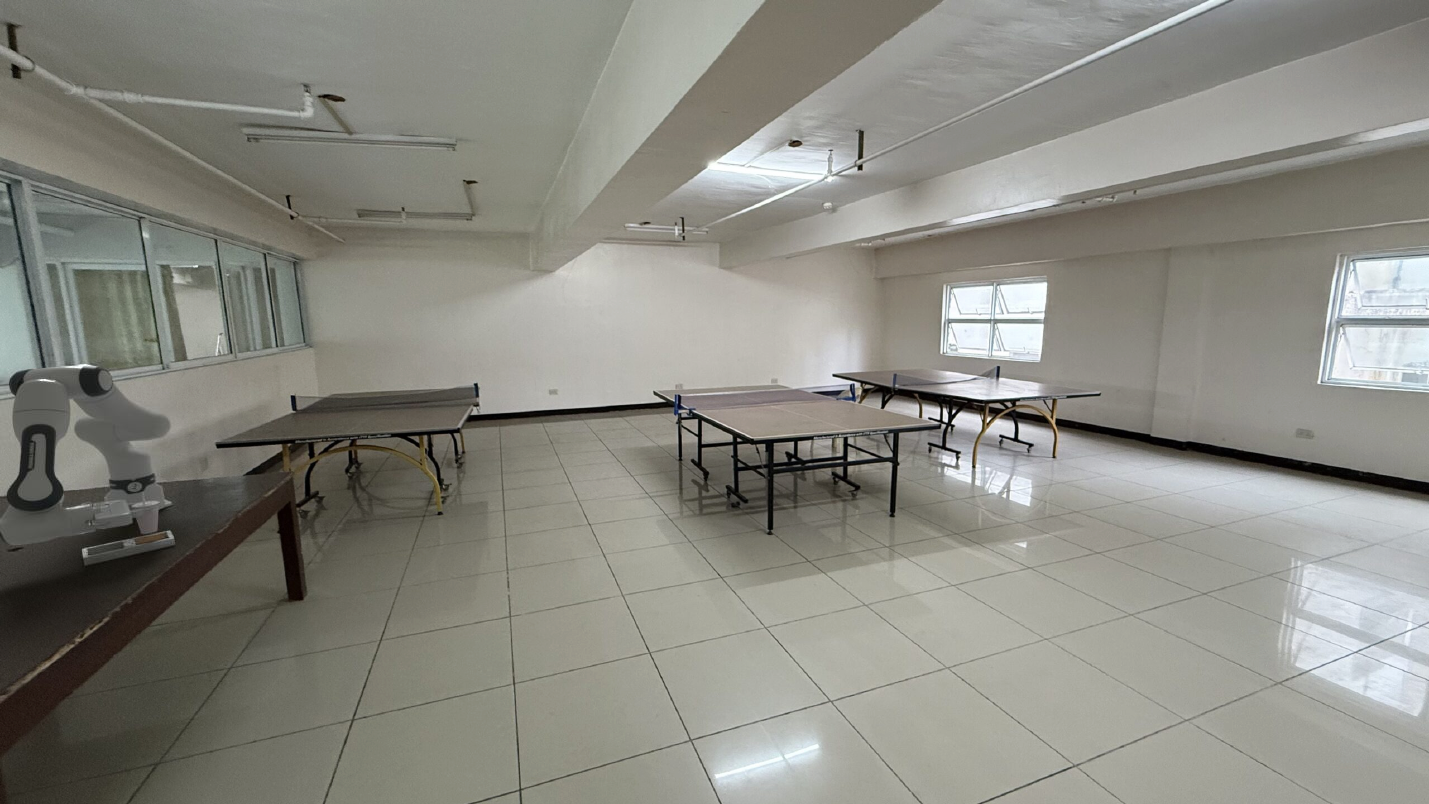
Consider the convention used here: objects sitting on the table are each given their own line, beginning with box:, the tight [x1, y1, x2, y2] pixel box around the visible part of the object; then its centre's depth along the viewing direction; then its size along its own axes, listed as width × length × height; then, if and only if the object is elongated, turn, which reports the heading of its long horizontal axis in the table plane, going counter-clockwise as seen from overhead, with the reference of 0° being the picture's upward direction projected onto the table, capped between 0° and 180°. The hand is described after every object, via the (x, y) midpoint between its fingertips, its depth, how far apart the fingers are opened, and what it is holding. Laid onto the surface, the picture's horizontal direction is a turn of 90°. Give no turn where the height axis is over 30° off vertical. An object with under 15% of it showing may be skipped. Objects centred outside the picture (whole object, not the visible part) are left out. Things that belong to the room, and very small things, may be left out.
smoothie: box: [132, 491, 160, 535], centre depth 173 cm, size 6×6×14 cm
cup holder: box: [81, 530, 176, 566], centre depth 171 cm, size 10×20×2 cm, turn 142°
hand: (150, 507), depth 173 cm, fingers closed on smoothie, 6 cm apart
